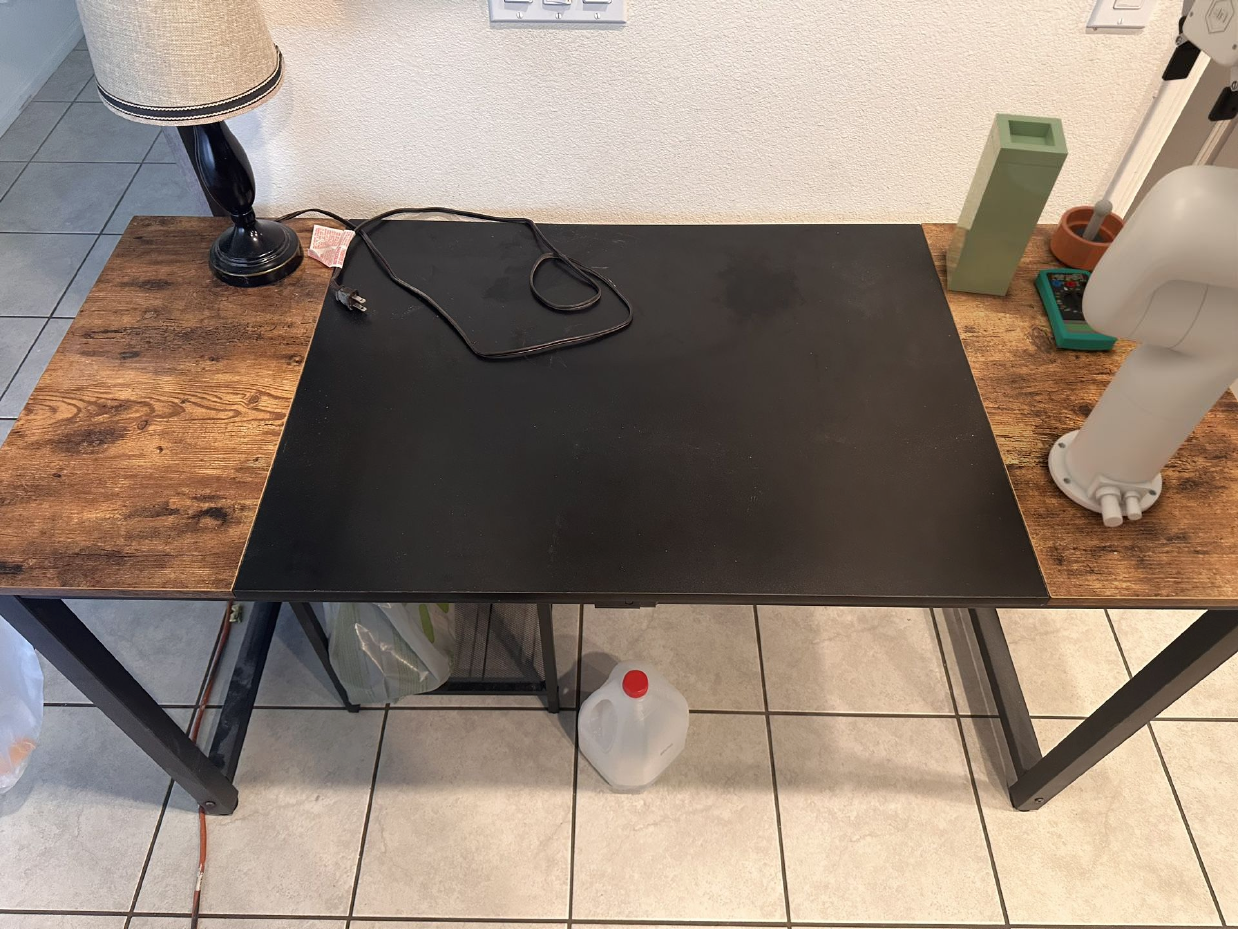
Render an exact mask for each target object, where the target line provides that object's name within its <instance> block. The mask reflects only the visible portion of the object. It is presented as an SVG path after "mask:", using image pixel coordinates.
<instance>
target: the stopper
mask: <svg viewBox="0 0 1238 929" xmlns="http://www.w3.org/2000/svg"><path fill="white" fill-rule="evenodd" d="M1113 205H1114V204H1113V203H1112V201H1110V200H1109V199H1105V198H1104V199H1100V200H1098V201H1097V202H1096V203H1095V204H1094V205H1093V207H1094V214H1093V216H1092V218H1091V220H1090V222H1089V224H1088V226H1087V228H1086V229H1078V230H1076V231H1074V232H1073V233H1074V234H1075V235H1077V236H1079V237H1081V238H1083V239H1085V240H1088V241H1091V242H1097V243H1103V238H1102V236H1101V235H1100V234H1099V233H1097V232H1098V230H1099V228H1100V226H1101V224H1102V222H1103V220H1104V218H1105V216H1107V215H1109V214H1110V213H1111V212H1112V211H1113V210H1114V209H1113V208H1114V207H1113Z"/></svg>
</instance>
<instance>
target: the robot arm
mask: <svg viewBox="0 0 1238 929" xmlns="http://www.w3.org/2000/svg"><path fill="white" fill-rule="evenodd" d="M1177 25H1178V26H1177V27H1178V35H1177V36H1176V37H1175V39H1174V44H1175V46H1176V47H1175V49H1174V51H1173V53H1172V55H1171V57H1170V59H1169V61H1168V63H1167V65H1166V67H1165V68H1164V71H1163V73H1162V75H1161V80H1163V81H1164V82H1168V81H1178V80H1186V79H1188V77H1189V75H1190V74H1191V71H1192V69H1193V68H1194V66H1195V64H1196V62H1197V59H1198V58H1199V56H1200V54H1201V52H1203V53H1204V54H1205V55H1207V57H1209V58H1210V59H1212V60H1213V61H1214V62H1215V63H1217V64H1218V65H1220V66H1221V67H1224V68H1230V79H1229V80H1230V82H1229V83H1230V86H1224V88H1223V89H1222V90H1221V92H1220V94H1219V96H1218V97H1217V99H1216V101H1215V103H1214V105H1213V107H1212V108H1211V110H1210V112H1209V114H1208V116H1207V119H1208V120H1209V121H1210V122H1211V123H1212V122H1220V121H1231V120H1234V119H1235V118H1236V117H1237V115H1238V0H1183V2H1182V7H1181V17H1180V18H1179V19H1178V24H1177ZM1082 310H1083V315H1084V318H1085V320H1086V322H1087V323H1088V325H1089V326H1090V327H1091V328H1092V329H1094V330H1095V331H1097V332H1099V333H1101V334H1104V335H1107V336H1111V337H1115V338H1117V339H1120V340H1125V341H1131V342H1135V343H1139V344H1138V345H1136V346H1135V347H1134V348H1133V349H1132V350H1131V351H1130V352H1129V354H1128V355H1127V356H1126V357H1125V358H1124V360H1123V362H1122V363H1121V365H1120V366H1119V368H1118V369H1117V371H1116V372H1115V374H1114V376H1113V377H1112V379H1111V380H1110V382H1109V383H1108V384H1107V386H1106V388H1105V389H1104V391H1103V393H1102V395H1101V396H1100V398H1099V399H1098V401H1097V402H1096V404H1095V405H1094V406H1093V408H1092V410H1091V411H1090V413H1089V415H1088V416H1087V418H1086V419H1085V421H1084V422H1083V424H1082V426H1081V427H1080V429H1076V430H1071V431H1070V432H1067V433H1065V434H1063V435H1062V436H1060V437H1059V438H1058V439H1057V440H1056V441H1055V442H1054V444H1053V446H1052V447H1051V449H1050V451H1049V455H1048V458H1047V459H1048V460H1047V461H1048V462H1047V464H1048V469H1049V473H1050V476H1051V477H1052V479H1053V481H1054V483H1055V484H1056V485H1057V487H1058V489H1060V490H1061V492H1063V493H1064V494H1065V495H1066V496H1067V497H1068V498H1069V499H1071V500H1072V501H1073V502H1075V503H1076V504H1078V505H1080V506H1082V507H1084V508H1085V509H1087V510H1090V511H1093V512H1094V513H1098V514H1101V515H1102V520H1103V525H1104V526H1106V527H1109V528H1113V527H1114V528H1115V527H1118V526H1121V525H1122V524H1123V523H1124V519H1123V518H1124V517H1127V518H1128V519H1129V521H1138V520H1141V519H1142V517H1143V515H1142V512H1144V511H1146V510H1148V509H1149V508H1150V507H1152V506H1153V505H1154V504H1155V503H1156V502H1157V500H1158V499H1159V497H1160V495H1161V493H1162V489H1163V478H1162V474H1161V471H1162V470H1163V469H1164V468H1165V466H1166V465H1167V464H1168V463H1169V461H1170V460H1171V459H1172V457H1174V455H1175V454H1176V453H1177V451H1179V449H1180V448H1181V446H1182V445H1183V444H1184V443H1185V442H1186V440H1187V439H1188V438H1189V437H1190V435H1192V433H1193V431H1194V430H1196V428H1197V427H1198V426H1199V424H1201V422H1202V420H1203V419H1204V418H1205V417H1206V415H1207V414H1208V413H1209V412H1210V411H1211V410H1212V409H1213V407H1214V406H1215V405H1216V404H1217V402H1218V401H1219V400H1220V398H1221V397H1222V396H1223V395H1224V394H1225V393H1226V392H1227V391H1228V389H1229V388H1230V387H1231V386H1232V385H1233V384H1234V383H1235V382H1236V381H1237V379H1238V168H1234V167H1227V166H1221V165H1220V166H1219V165H1210V164H1191V165H1186V166H1185V165H1184V166H1182V167H1179V168H1176V169H1174V170H1172V171H1170V172H1169V173H1167V174H1165V175H1164V176H1162V178H1160V179H1158V181H1157V182H1156V183H1155V184H1154V185H1152V187H1151V189H1150V190H1149V191H1148V192H1147V193H1146V194H1145V196H1144V197H1143V199H1142V200H1141V202H1140V203H1139V204H1138V206H1137V207H1136V209H1135V210H1134V211H1133V213H1132V214H1131V215H1130V217H1129V219H1128V220H1127V221H1126V224H1125V225H1124V227H1123V228H1122V230H1121V231H1120V232H1119V234H1118V235H1117V237H1116V238H1115V239H1114V241H1113V242H1112V244H1111V245H1110V246H1109V248H1108V249H1107V250H1106V252H1105V253H1104V255H1103V256H1102V258H1101V259H1100V261H1099V262H1098V264H1097V265H1096V267H1095V269H1094V270H1093V271H1092V272H1091V276H1090V278H1089V281H1088V283H1087V286H1086V288H1085V291H1084V295H1083V301H1082Z"/></svg>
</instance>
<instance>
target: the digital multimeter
mask: <svg viewBox="0 0 1238 929" xmlns="http://www.w3.org/2000/svg"><path fill="white" fill-rule="evenodd" d="M1091 274H1092V272H1090V271H1087V270H1080V269H1076V268H1061V267H1059V268H1057V267H1056V268H1047V269H1041V270H1039V271H1038V273H1037V275H1036V277H1035V279H1034V283H1035V286H1036V287H1037V290H1038V292H1039V294H1040V297H1041V300H1042V302H1043V305H1044V307H1045V308H1044V309H1045V310H1046V313H1047V316H1048V319H1049V322H1050V325H1051V328H1052V332H1053V336H1054V340H1055V344H1056V346H1057V347H1058V348H1060V349H1069V350H1079V351H1081V350H1082V351H1104V350H1105V351H1106V350H1108V351H1109V350H1112V349H1113V348H1114V346H1115V344H1116V343H1117V341H1118V338H1115V337H1111V336H1107V335H1104V334H1101V333H1099V332H1097V331H1095V330H1094V329H1092V328H1091V327H1090V326H1089V325H1088V323H1087V322H1086V320H1085V318H1084V315H1083V310H1082V301H1083V295H1084V291H1085V288H1086V286H1087V283H1088V281H1089V278H1090V276H1091Z"/></svg>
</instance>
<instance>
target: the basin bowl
mask: <svg viewBox="0 0 1238 929" xmlns="http://www.w3.org/2000/svg"><path fill="white" fill-rule="evenodd" d="M1093 214H1094V206H1092V205H1081V206H1074V207H1072V208H1070V209H1066V211H1065V212H1064V213H1063V214H1062V215H1061V216H1060V219H1059V221H1058V223H1057V225H1056V227H1055V230H1054V232H1053V234H1052V235H1051V239H1050V243H1049V248H1050V250H1051V252H1052V254H1053V255H1054V256H1055V257H1056V258H1057V259H1058V260H1059V261H1060V262H1061V263H1063V265H1066V266H1067V267H1071V268H1072V269H1077V270H1084V271H1088V272H1091V271H1092V272H1093V271H1094V269H1095V267H1096V265H1097V264H1098V262H1099V261H1100V259H1101V258H1102V256H1103V255H1104V253H1105V252H1106V250H1107V249H1108V248H1109V246H1110V245H1111V244H1112V242H1113V241H1114V239H1115V238H1116V237H1117V235H1118V234H1119V232H1120V231H1121V230H1122V228H1123V227H1124V225H1125V224H1126V223H1127V221H1125V220H1124V219H1123V218H1122V217H1121V216H1119V215H1118V214H1116V213H1114V212H1112V211H1111V213H1110V214H1109V215H1107V216H1105V218H1104V220H1103V222H1102V224H1101V226H1100V228H1099V230H1098V232H1097V233H1099V234H1100V235H1101V236H1102V238H1103V243H1097V242H1091V241H1088V240H1085V239H1083V238H1081V237H1079V236H1077V235H1075V234H1074V233H1073V232H1074V231H1076V230H1078V229H1086V228H1087V226H1088V224H1089V222H1090V220H1091V218H1092V216H1093Z"/></svg>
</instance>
